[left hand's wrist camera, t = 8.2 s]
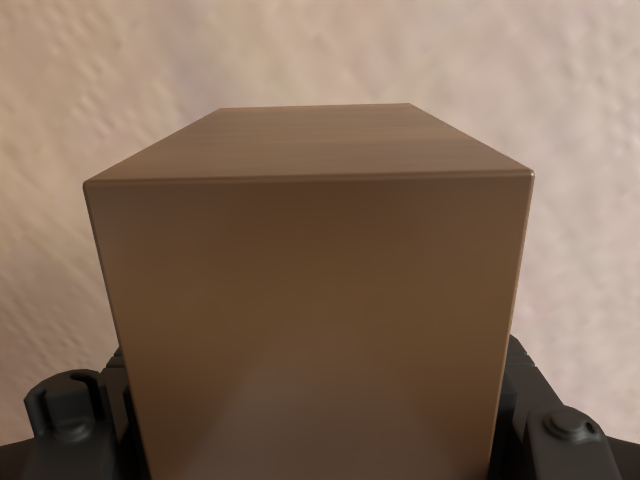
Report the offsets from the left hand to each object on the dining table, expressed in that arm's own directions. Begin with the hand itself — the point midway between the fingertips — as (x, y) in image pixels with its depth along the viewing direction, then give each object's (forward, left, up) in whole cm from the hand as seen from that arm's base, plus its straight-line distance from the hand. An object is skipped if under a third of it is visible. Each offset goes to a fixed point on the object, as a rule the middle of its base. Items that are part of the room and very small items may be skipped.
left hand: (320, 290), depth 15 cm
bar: (+25, -5, -1) cm, 26 cm away
